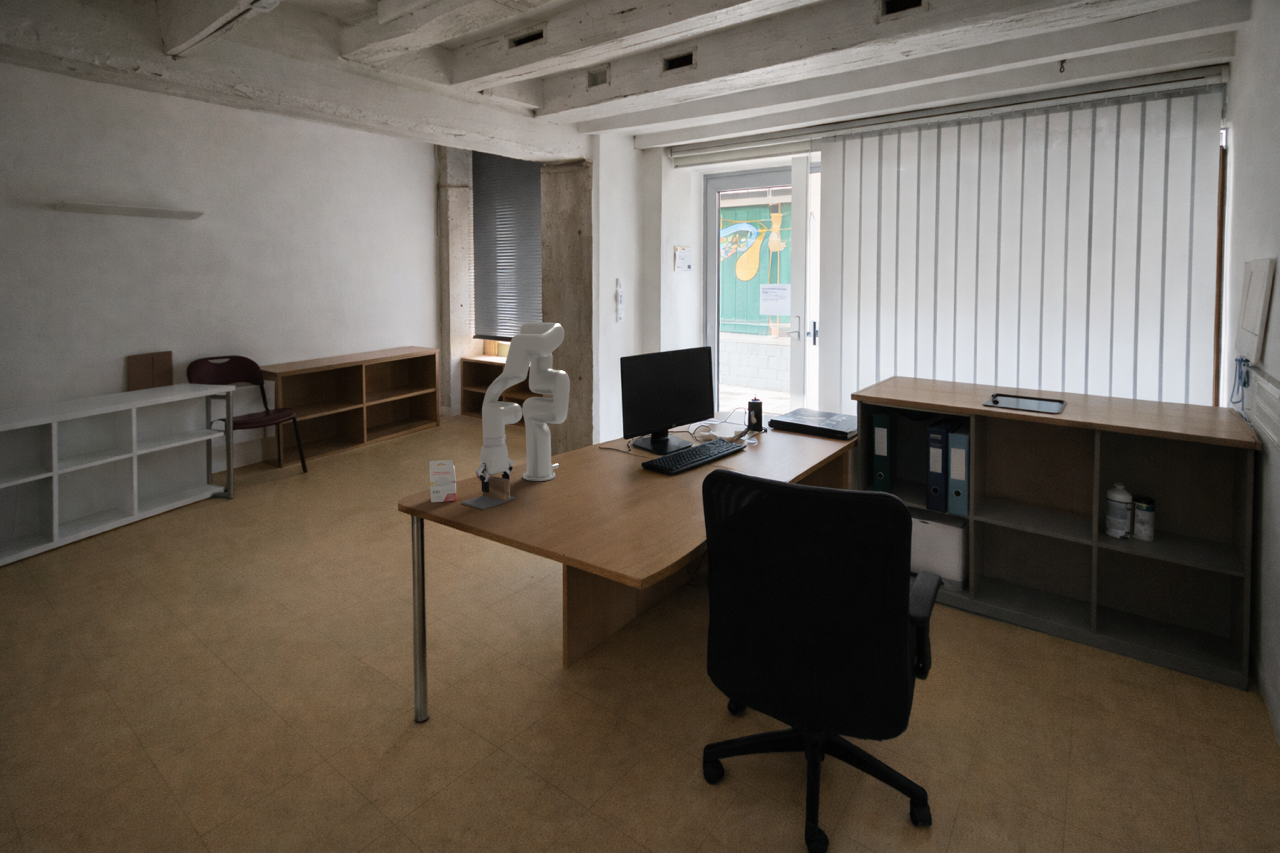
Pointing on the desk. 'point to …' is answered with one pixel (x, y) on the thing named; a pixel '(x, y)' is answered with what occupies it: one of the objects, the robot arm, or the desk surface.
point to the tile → (498, 488)
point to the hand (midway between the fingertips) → (495, 488)
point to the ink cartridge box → (442, 481)
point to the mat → (485, 502)
